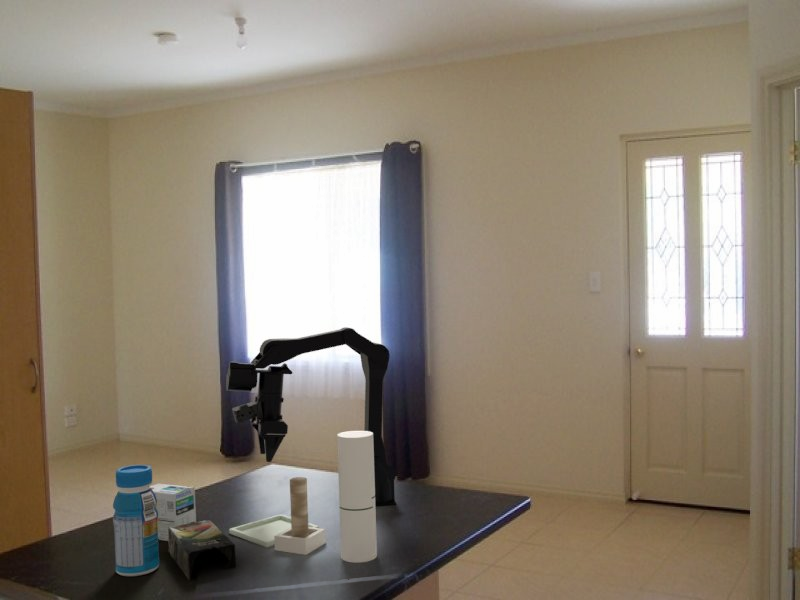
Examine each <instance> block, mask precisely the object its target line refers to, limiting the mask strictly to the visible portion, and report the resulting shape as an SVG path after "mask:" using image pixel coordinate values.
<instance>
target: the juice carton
mask: <svg viewBox="0 0 800 600" xmlns="http://www.w3.org/2000/svg"><path fill="white" fill-rule="evenodd" d="M167 543H168V553H169V554H170V557H171V558H172V559H173V560H174V561H175V563H176V565H178V567H179V569H180V570H181V571H182V573H184V576H186V578H187V580H188V581H194V580H195V578H192V572H193V566H194V561H195V560H196V558H197V556H198V555H199V554H202V553H203V552H205V551H209V550H212V549H213V548H216V549H217V550H219V552H221V553H222V554H223V555H224V556H225V557H227V560H228V563H227V564H226V565H225V567H224V570H230V569H235V568H237V559H236V544H235V543H234V542H233V540H231V539H230V538H229V537H228V536H227V535H226V534H224V533H223V532H222V531H221V530H220V529H219V528H218V527H217V525H215V523H213V522H212V521H211V520H201V521H198V522H197V521H196V522H190V523H187V524H184V525H179V526H175V527H169V528H168V541H167Z"/></svg>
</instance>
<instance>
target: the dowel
mask: <svg viewBox="0 0 800 600" xmlns="http://www.w3.org/2000/svg"><path fill="white" fill-rule="evenodd" d="M307 481H308V478H307V477H305V476H304V477H303V476H301V477H300V476H298V477H297V476H296V477H291V478H290V479H289V495H290V498H289V499H290V517H291V531H292V537H299V538H305V537H307V536H309V531H308V523H309V511H308V510H309V508H308V507H309V505H308V504H309V502H308V482H307Z"/></svg>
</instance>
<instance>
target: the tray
mask: <svg viewBox="0 0 800 600" xmlns="http://www.w3.org/2000/svg"><path fill="white" fill-rule="evenodd" d="M290 527H291V516H289V515H285V514H283V513H279V514H276V515H273V516H269V517H266V518H262V519H259V520H256V521H252V522H248V523H245V524H242V525H238V526H235V527H231V528H229V530H228V532H229V534H230V535H232V536H236V537H237V538H241V539H243V540H245V541H248V542H251V543H254V544H256V545H259V546H262V547H264V548H270V547H273V546H275V543H274V536H275V535H277V534H279V533H281V532H283V531H284V530H286V529H288V528H290ZM308 527H314V528H320V526H319V525H317V524H314V523H311V522H308Z"/></svg>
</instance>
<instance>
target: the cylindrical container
mask: <svg viewBox="0 0 800 600" xmlns="http://www.w3.org/2000/svg"><path fill="white" fill-rule="evenodd" d="M336 436H337V437H336V439H337V441H336V444H337V470H338V471H337V472H338V474H337V475H338V500H339V501H338V503H339V506H338V507H339V529H340V530H339V533H340V535H339V536H340V557H341V560H343V561H344V562H349V563H367V562H371V561H373V560H374V559H376V558H377V557H378V556H377V555H378V547H377V545H378V543H377V517H376V516H377V514H376V513H377V512H376V506H375V476H374V443H373V433H372V432H370V431H364V430H348V431H343V432H341V431H340V432H338V433H337V435H336Z"/></svg>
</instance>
